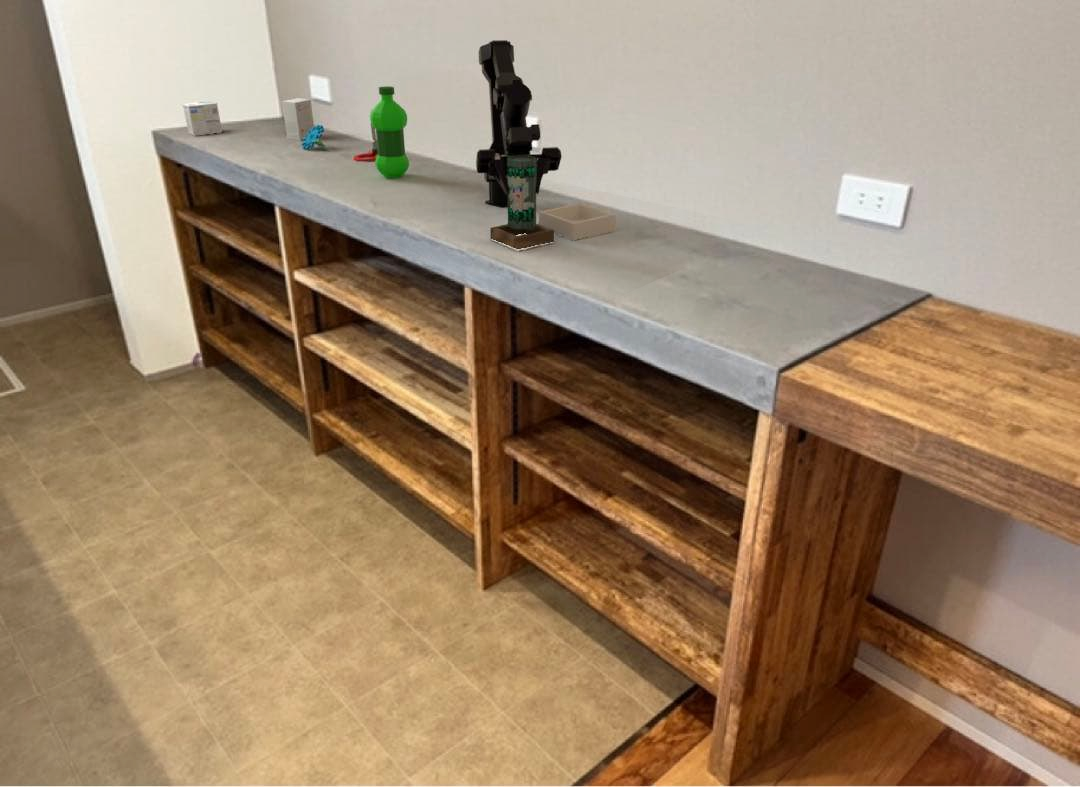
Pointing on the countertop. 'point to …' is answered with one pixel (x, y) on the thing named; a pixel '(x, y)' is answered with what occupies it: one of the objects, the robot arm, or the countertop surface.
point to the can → (521, 191)
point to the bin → (578, 221)
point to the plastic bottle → (389, 135)
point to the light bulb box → (202, 118)
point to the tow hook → (370, 153)
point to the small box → (298, 118)
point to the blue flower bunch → (313, 138)
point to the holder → (531, 239)
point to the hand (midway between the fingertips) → (522, 193)
